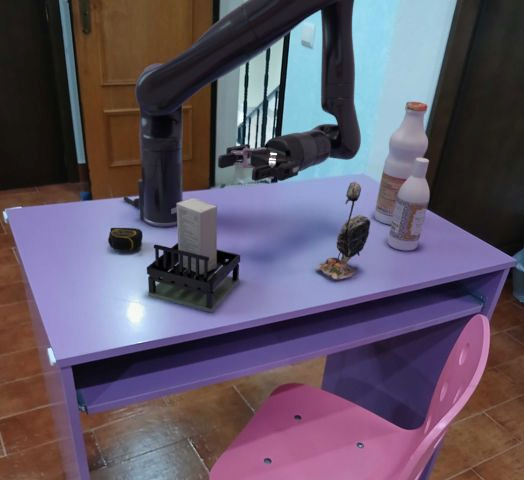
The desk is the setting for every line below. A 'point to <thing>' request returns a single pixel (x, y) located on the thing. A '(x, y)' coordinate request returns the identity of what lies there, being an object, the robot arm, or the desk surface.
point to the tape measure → (125, 239)
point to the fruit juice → (401, 159)
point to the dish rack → (192, 278)
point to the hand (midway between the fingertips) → (236, 168)
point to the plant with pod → (348, 240)
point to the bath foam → (410, 209)
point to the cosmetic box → (197, 232)
